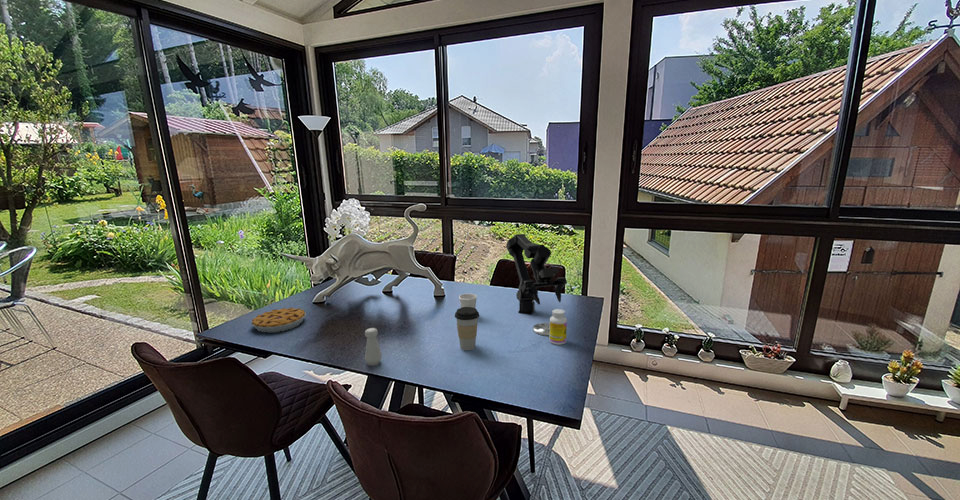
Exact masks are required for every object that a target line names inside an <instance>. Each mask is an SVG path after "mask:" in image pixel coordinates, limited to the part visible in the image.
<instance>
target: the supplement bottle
mask: <svg viewBox="0 0 960 500" xmlns="http://www.w3.org/2000/svg"><path fill="white" fill-rule="evenodd" d="M551 314H552V316H550V318H549V323H550V331H549V336H548V337H549V339H548V340H549V342H550V343H551V344H553V345H555V346H561V345H564V344H566V342H567V336H568V335H567V331H568V330H567V329H568V319H567V318H566V316H565V314H566V312H565V310H564V309H562V308H561V309H560V308H555V309H553V310H552V311H551Z"/></svg>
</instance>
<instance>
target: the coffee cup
mask: <svg viewBox="0 0 960 500" xmlns="http://www.w3.org/2000/svg"><path fill="white" fill-rule="evenodd" d="M454 318H456V328H457V335H458V340H459V347H460V349H461V350H463V351H472V350H474V349H476V343H477V342H476V339H477V331H478V324H479V323H478V319H479V318H480V313H479V311H478V309H477V308H476V307H475V308H473V307H462V308H461V307H459V308H457V309H456V312H455V313H454Z"/></svg>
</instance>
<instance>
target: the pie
mask: <svg viewBox="0 0 960 500" xmlns="http://www.w3.org/2000/svg"><path fill="white" fill-rule="evenodd" d="M306 315H307V312H306V311H305V310H304V309H301V308H294V307H289V308H286V307H284V308H283V307H282V308H281V309H280V308H279V309H272V310H271V311H265V312H263V313H261V314H258V315H257V316H256V317H254V318H252V321H251V324H250V325H252V326H253V327H254V329H255V330H256V329H257V330H256V331H258V332H260V331H261V332H260V333H265V332H268V333H279V332H280V331H282V332H285V330H286V331H288V329H289V330H291V329H294V328H295V327H298V326H300V323H301V324H302V323H303V320H304V318H306ZM280 333H281V332H280Z"/></svg>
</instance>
